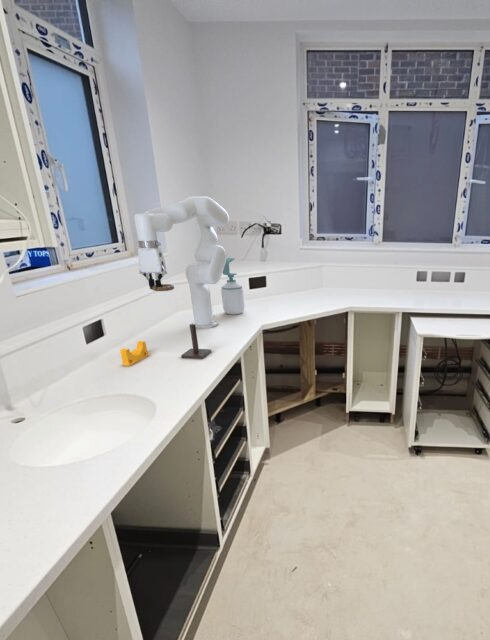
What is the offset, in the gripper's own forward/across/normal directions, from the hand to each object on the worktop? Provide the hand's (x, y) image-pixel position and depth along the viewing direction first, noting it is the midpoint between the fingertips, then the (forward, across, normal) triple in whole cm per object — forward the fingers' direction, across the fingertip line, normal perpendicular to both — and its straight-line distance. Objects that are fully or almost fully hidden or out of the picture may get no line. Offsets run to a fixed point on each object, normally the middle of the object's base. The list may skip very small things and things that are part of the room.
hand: (155, 288), depth 178 cm
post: (+24, -23, +16) cm, 37 cm away
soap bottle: (+24, -12, -58) cm, 64 cm away
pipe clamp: (+25, -2, +26) cm, 36 cm away
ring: (-1, -4, 0) cm, 4 cm away
